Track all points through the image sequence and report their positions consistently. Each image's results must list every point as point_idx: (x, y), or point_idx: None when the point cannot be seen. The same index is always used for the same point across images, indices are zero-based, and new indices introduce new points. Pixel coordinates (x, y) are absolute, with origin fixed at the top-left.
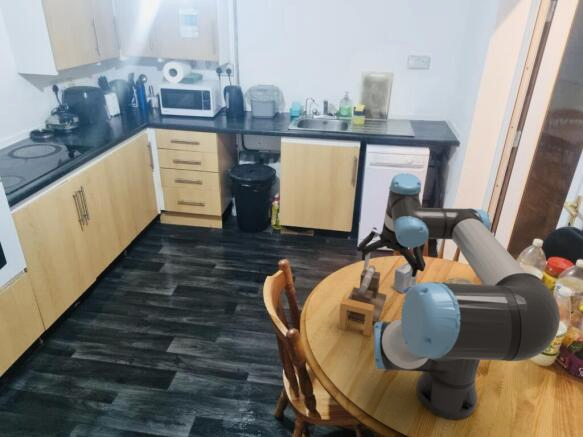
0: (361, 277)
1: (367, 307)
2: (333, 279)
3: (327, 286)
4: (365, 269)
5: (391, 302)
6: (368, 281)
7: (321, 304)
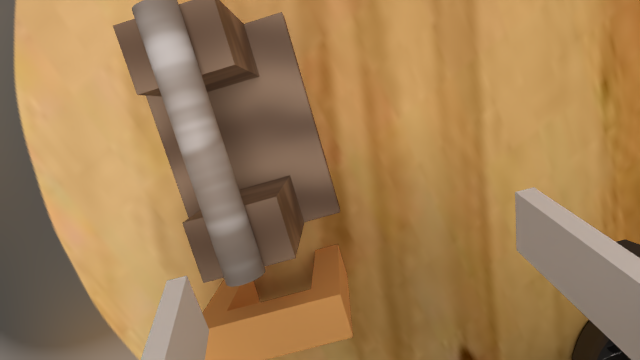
0: (149, 93)
1: (322, 328)
2: (23, 44)
3: (40, 110)
4: (204, 336)
5: (318, 31)
6: (222, 174)
7: (103, 230)
